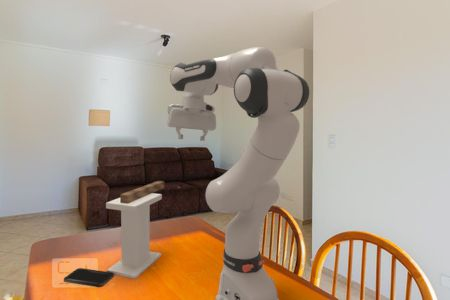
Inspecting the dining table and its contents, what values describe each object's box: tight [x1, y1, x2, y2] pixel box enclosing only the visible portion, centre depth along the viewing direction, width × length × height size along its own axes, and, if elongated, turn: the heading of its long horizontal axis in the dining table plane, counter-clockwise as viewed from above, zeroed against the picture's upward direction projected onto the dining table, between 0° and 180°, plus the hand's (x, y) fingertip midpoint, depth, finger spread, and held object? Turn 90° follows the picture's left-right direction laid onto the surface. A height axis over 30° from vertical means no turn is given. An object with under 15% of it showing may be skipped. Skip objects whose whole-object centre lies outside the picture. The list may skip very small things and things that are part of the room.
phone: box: [63, 267, 115, 288], centre depth 95 cm, size 8×1×15 cm
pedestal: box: [105, 192, 163, 280], centre depth 104 cm, size 18×12×26 cm, turn 163°
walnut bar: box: [119, 180, 165, 204], centre depth 108 cm, size 26×3×3 cm, turn 163°
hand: (191, 139), depth 110 cm, fingers open, 8 cm apart
